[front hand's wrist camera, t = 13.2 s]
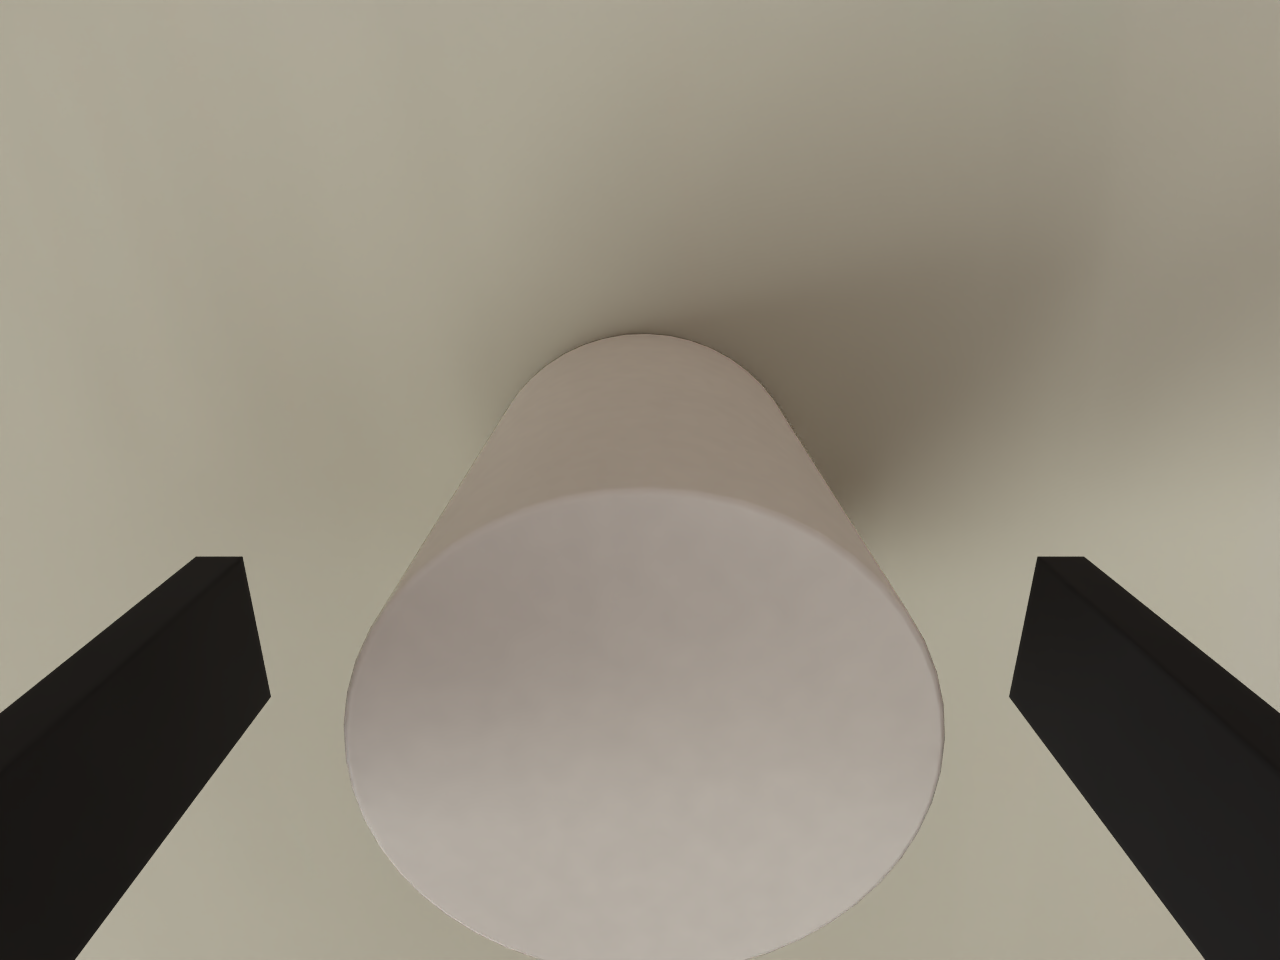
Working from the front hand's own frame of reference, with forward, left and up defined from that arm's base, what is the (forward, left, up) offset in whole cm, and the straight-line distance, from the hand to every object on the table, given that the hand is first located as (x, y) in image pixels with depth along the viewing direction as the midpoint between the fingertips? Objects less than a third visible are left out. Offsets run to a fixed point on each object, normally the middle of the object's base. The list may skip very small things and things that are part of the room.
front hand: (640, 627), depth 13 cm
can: (0, 0, -6) cm, 6 cm away
